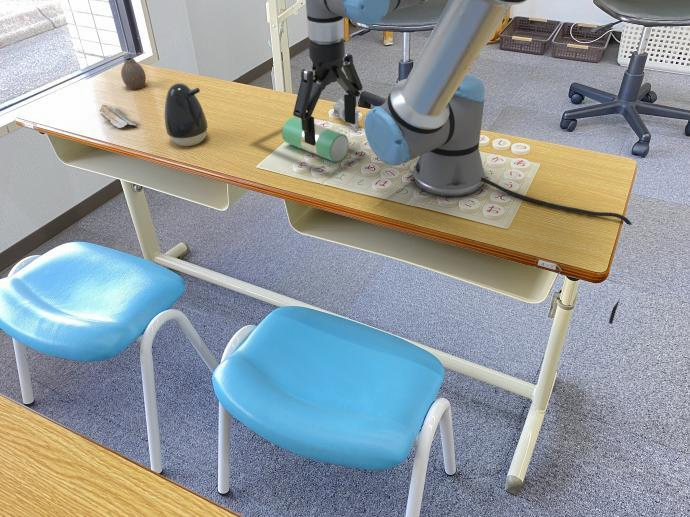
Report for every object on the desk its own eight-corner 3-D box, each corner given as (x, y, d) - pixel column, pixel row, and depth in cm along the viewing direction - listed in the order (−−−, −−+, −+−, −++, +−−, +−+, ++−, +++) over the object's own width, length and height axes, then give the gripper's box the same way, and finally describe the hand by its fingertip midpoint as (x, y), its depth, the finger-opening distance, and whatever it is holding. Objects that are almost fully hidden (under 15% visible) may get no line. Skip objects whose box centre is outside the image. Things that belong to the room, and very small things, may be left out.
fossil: (94, 112, 167) (103, 100, 167) (103, 119, 169) (113, 107, 170) (119, 132, 155) (129, 119, 156) (129, 139, 158) (139, 127, 158)
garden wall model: (333, 114, 160) (332, 93, 156) (338, 113, 161) (337, 92, 157) (354, 130, 152) (353, 109, 148) (360, 129, 152) (360, 107, 149)
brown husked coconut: (121, 91, 180) (113, 62, 174) (131, 82, 185) (123, 54, 180) (142, 91, 179) (134, 63, 173) (151, 83, 184) (144, 55, 179)
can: (349, 156, 140) (348, 130, 136) (330, 166, 136) (329, 140, 132) (302, 138, 148) (300, 113, 144) (283, 147, 145) (280, 122, 140)
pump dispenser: (201, 152, 145) (189, 93, 136) (163, 150, 147) (148, 91, 138) (217, 134, 153) (206, 77, 144) (180, 132, 155) (167, 75, 146)
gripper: (351, 21, 131) (353, 110, 145) (270, 51, 117) (280, 147, 130) (378, 27, 127) (377, 118, 141) (296, 59, 113) (304, 158, 126)
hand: (330, 132), depth 135 cm, fingers open, 13 cm apart
